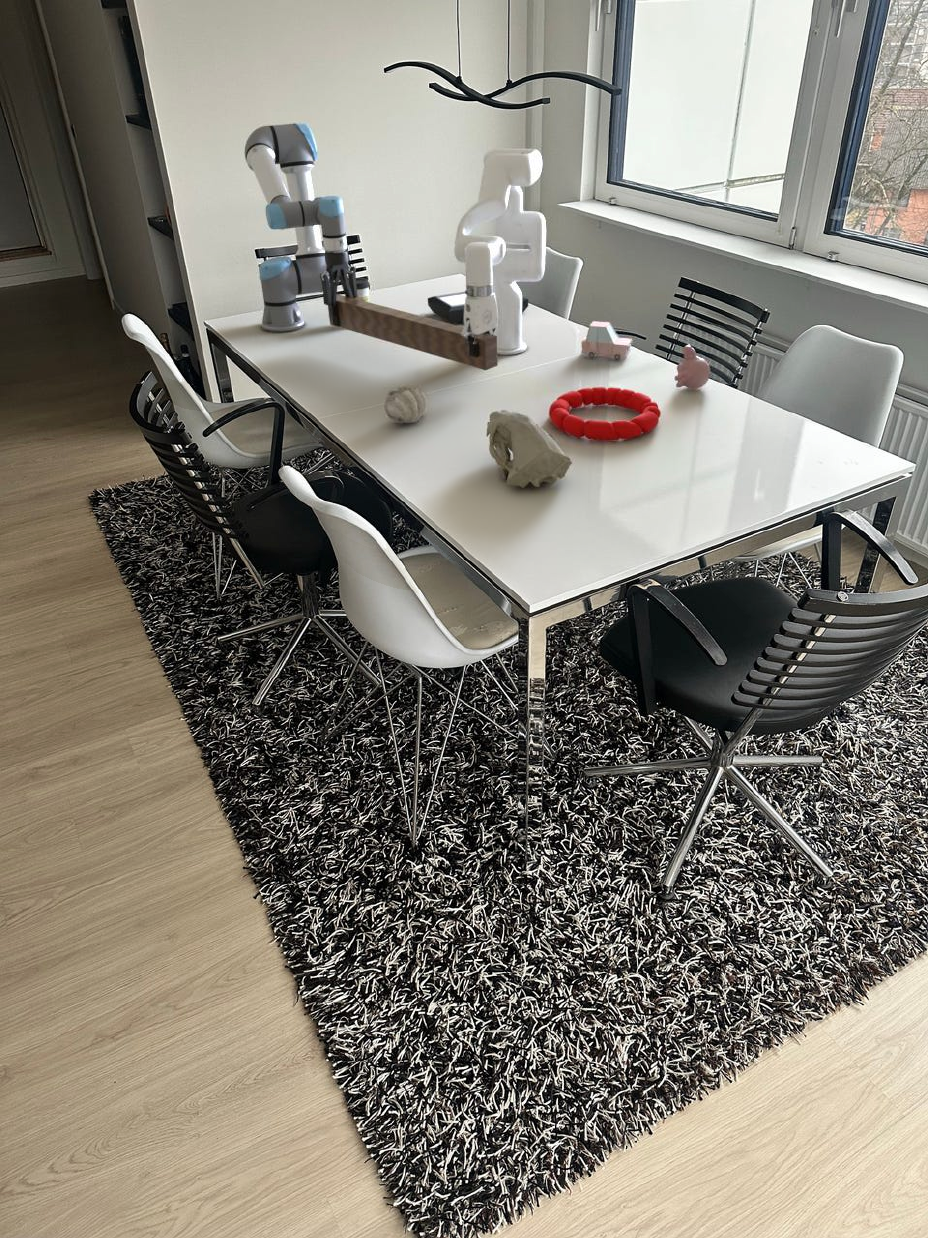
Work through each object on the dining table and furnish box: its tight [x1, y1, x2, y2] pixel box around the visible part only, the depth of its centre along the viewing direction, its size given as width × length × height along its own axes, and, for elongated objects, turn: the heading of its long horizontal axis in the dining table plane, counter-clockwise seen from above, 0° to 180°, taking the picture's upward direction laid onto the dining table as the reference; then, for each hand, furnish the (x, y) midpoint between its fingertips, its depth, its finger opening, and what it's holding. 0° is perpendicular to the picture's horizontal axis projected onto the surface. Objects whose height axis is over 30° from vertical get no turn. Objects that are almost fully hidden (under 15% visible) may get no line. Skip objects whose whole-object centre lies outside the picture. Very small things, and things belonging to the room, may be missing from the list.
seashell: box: [383, 386, 427, 424], centre depth 244 cm, size 10×15×10 cm
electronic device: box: [427, 291, 529, 325], centre depth 331 cm, size 32×6×20 cm
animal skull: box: [485, 409, 573, 489], centre depth 216 cm, size 17×25×20 cm
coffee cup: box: [348, 277, 371, 303], centre depth 323 cm, size 10×10×15 cm
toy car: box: [580, 320, 633, 361], centre depth 286 cm, size 9×15×10 cm, turn 70°
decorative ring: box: [548, 386, 661, 442], centre depth 242 cm, size 7×30×30 cm
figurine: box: [674, 344, 711, 390], centre depth 259 cm, size 9×11×12 cm
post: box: [327, 293, 498, 371], centre depth 278 cm, size 71×5×9 cm, turn 47°
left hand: (343, 323), depth 298 cm, fingers closed on post, 5 cm apart
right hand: (480, 352), depth 260 cm, fingers closed on post, 5 cm apart
